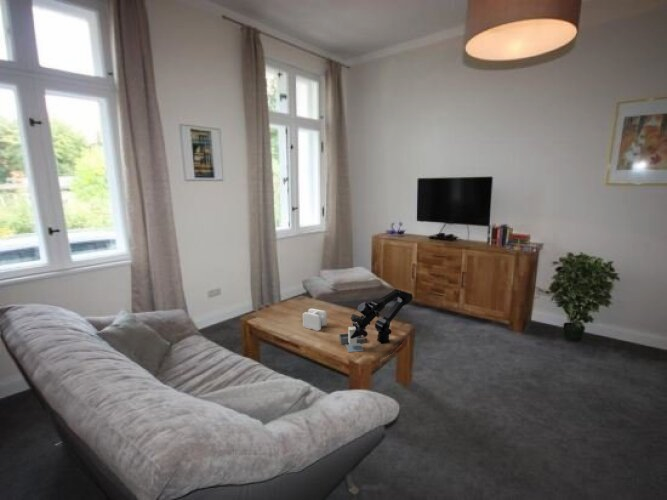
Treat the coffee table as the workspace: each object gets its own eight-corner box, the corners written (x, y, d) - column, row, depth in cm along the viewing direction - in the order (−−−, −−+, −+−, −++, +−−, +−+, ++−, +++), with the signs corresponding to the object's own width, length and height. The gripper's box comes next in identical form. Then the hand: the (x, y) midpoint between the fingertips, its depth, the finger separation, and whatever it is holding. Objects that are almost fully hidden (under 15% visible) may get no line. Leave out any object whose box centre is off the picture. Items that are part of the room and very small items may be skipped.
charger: (355, 341, 221) (355, 326, 219) (356, 344, 217) (356, 329, 215) (348, 341, 220) (348, 327, 218) (349, 345, 216) (349, 330, 214)
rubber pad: (360, 343, 224) (360, 343, 224) (363, 350, 215) (363, 350, 215) (345, 344, 222) (345, 344, 222) (348, 352, 213) (348, 351, 213)
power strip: (363, 337, 232) (363, 332, 231) (365, 342, 226) (365, 336, 225) (339, 339, 229) (339, 334, 228) (341, 344, 223) (341, 338, 222)
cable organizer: (301, 327, 248) (301, 312, 246) (310, 322, 257) (309, 307, 255) (319, 332, 241) (319, 316, 239) (327, 326, 250) (327, 310, 248)
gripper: (355, 304, 223) (338, 322, 224) (362, 316, 205) (344, 335, 206) (367, 315, 226) (350, 332, 227) (375, 327, 208) (357, 346, 209)
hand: (350, 336), depth 217 cm, fingers closed on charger, 4 cm apart
